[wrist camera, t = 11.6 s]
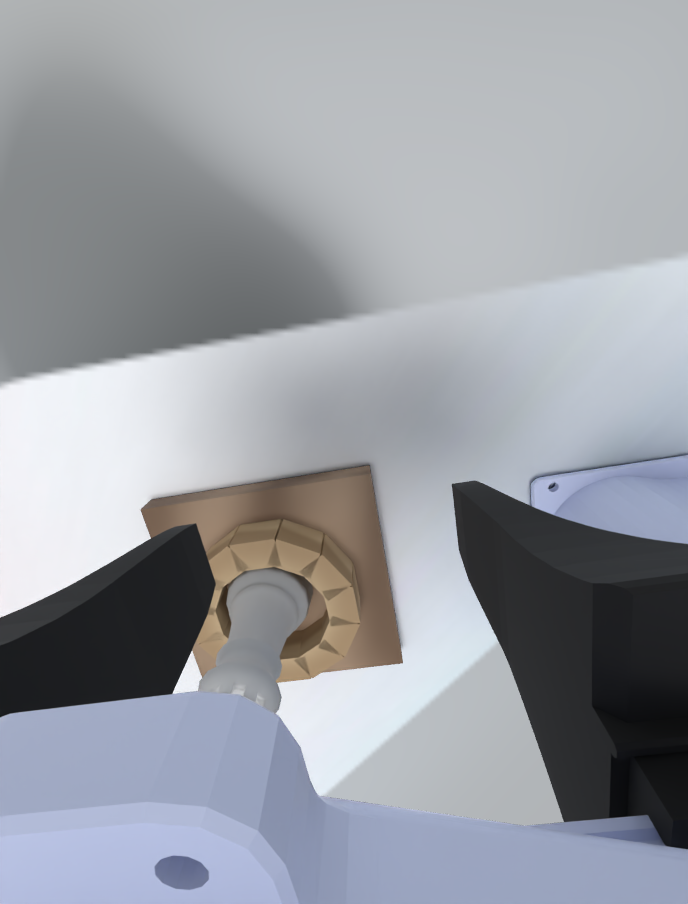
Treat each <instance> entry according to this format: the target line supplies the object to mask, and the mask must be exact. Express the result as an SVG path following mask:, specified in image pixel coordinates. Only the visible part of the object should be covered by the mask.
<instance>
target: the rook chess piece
mask: <svg viewBox="0 0 688 904" xmlns="http://www.w3.org/2000/svg"><path fill="white" fill-rule="evenodd" d="M312 594H313V589H312V584H311V583H310V582H309V581H308V580H307V579H306V578H305V577H304V576H301V575H298V574H295V573H292V572H288V571H285V570H282V569H279V568H276V567H270V568H263V569H256V570H248V571H244V572H242V573H241V574H240V575H238V576H237V577H236V578H235V579H233V580H232V581H231V583H230V585H229V587H228V593H227V603H226V604H227V607H228V611H229V616H230V619H231V622H232V624H231V629H230V634H229V638H228V641H227V643H226V644H225V645H223V647H222V648H221V649H220V651H219V652H218V653H217V658H216V666H217V667H215V668H213V669H211V670H209V671H207V673H206V674H205V675H204V676H203V678H202V679H201V680H200V682H199V689H198V691H204V692H216V693H228V694H240V695H241V696H243V697H245V698H247V699H249V700H251V701H253V702H255V703H257V704H259V705H261V706H262V707H264V708H266V709H268V710H270V711H272V712H274V713H276V712H277V711H278V710H279V706H280V702H281V694H280V690H279V687H278V684H277V683H276V680H277V679H278V678H279V677H280V674H281V669H282V664H281V660H280V657H279V656H280V654H281V651H282V649H283V646H284V644H285V641H286V639H287V637H289V636H290V635H291V634H292V632H293V631H295V630H296V629H297V628H298V627H299V626H300V624H301V623H302V622H303V621H304V619H305V618H306V616H307V613H308V609H309V605H310V603H311V599H312Z"/></svg>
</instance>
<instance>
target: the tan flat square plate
mask: <svg viewBox="0 0 688 904" xmlns="http://www.w3.org/2000/svg"><path fill="white" fill-rule="evenodd" d="M141 512H142V515H143V518H144V520H145V523H146V526H147V529H148V531H149V534H150V537H151V538H153V537H155V536H156V535H158V534H160V533H162V532H164V531H166V530H168V529H170V528H173V527H175V526H182V525H188V524H195V523H196V524H197V527H198V530H199V533H200V537H201V540H202V543H203V546H204V549H205V552H206V555H207V558H208V561H209V564H210V567H211V570H212V573H213V576H214V579H215V582H216V586H215V590H214V594H213V598H212V601H211V605H210V608H209V611H208V615H207V617H206V620H205V622H204V624H203V626H202V629H201V631H200V633H199V636H198V638H197V640H196V642H195V644H194V647H193V649H192V651H193V654H194V656H195V659H196V662H197V664H198V667H199V670H200V673H201V675H202V678H203V676H204V675H205V674H206V673H207V671H209V670H211V669H213V668H215V667H217V666H216V658H217V653H218V652H219V651H220V649H221V648H222V647H223V645H225V644H226V643H227V641H228V638H229V634H230V629H231V624H232V622H231V619H230V616H229V611H228V607H227V604H226V603H227V593H228V587H229V585H230V583H231V581H232V580H233V579H235V578H236V577H237V576H238V575H240V574H241V573H242V572H244V571H248V570H256V569H263V568H270V567H276V568H279V569H282V570H285V571H288V572H292V573H295V574H298V575H301V576H304V577H305V578H306V579H307V580H308V581H309V582H310V583H311V584H312V589H313V594H312V599H311V603H310V605H309V609H308V613H307V616H306V618H305V619H304V621H303V622H302V623H301V624H300V626H299V627H298V628H297V629H296V630H295V631H293V632H292V634H291V635H290V636H289V637H287V639H286V641H285V644H284V646H283V649H282V651H281V654H280V656H279V657H280V660H281V664H282V669H281V674H280V677H279V678H278V679H277V680H276V683H278V682H287V681H296V680H304V679H311V677H312V678H314V677H315V676H317V675H318V674H320V673H322V672H331V671H340V670H348V669H357V668H365V667H374V666H383V665H391V664H400V663H403V660H402V652H401V645H400V639H399V634H398V628H397V622H396V616H395V610H394V605H393V599H392V593H391V587H390V581H389V575H388V570H387V564H386V558H385V552H384V546H383V541H382V535H381V529H380V523H379V517H378V512H377V506H376V500H375V494H374V488H373V483H372V477H371V471H370V465H368V466H362V467H355V468H349V469H343V470H336V471H330V472H324V473H317V474H311V475H305V476H298V477H292V478H286V479H279V480H273V481H267V482H260V483H254V484H247V485H241V486H235V487H228V488H222V489H216V490H209V491H203V492H197V493H190V494H184V495H178V496H171V497H165V498H159V499H152V500H150V501H149V502H148V503H147V504H146V505H145V506H144V507H143V508H142V509H141Z"/></svg>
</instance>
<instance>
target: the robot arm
mask: <svg viewBox="0 0 688 904" xmlns="http://www.w3.org/2000/svg"><path fill="white" fill-rule="evenodd" d="M551 483H555V486H554V487H553V488H551V489H548V486H549V485H550V484H551ZM452 489H453V499H454V508H455V517H456V527H457V536H458V545H459V551H460V555H461V558H462V561H463V564H464V567H465V570H466V573H467V576H468V579H469V581H470V583H471V586H472V588H473V590H474V592H475V594H476V596H477V598H478V600H479V602H480V604H481V606H482V608H483V610H484V612H485V614H486V617H487V619H488V621H489V623H490V625H491V627H492V629H493V631H494V633H495V635H496V637H497V639H498V641H499V643H500V645H501V647H502V649H503V651H504V653H505V656H506V658H507V660H508V663H509V665H510V668H511V670H512V673H513V676H514V679H515V681H516V684H517V687H518V690H519V692H520V695H521V698H522V700H523V703H524V706H525V709H526V712H527V714H528V717H529V720H530V723H531V725H532V729H533V732H534V734H535V737H536V740H537V743H538V746H539V749H540V751H541V754H542V757H543V760H544V763H545V766H546V769H547V772H548V775H549V778H550V781H551V784H552V787H553V790H554V793H555V796H556V799H557V802H558V805H559V808H560V811H561V814H562V817H563V820H564V822H561V823H550V824H538V825H527V826H523V825H516V824H509V823H503V822H496V821H489V820H482V819H475V818H468V817H461V816H455V815H448V814H441V813H434V812H427V811H420V810H412V809H406V808H400V807H392V806H385V805H379V804H372V803H365V802H358V801H352V800H345V799H338V798H331V797H324V796H319V795H318V794H317V793H316V792H315V790H314V788H313V785H312V783H311V781H310V778H309V775H308V771H307V768H306V765H305V761H304V758H303V755H302V751H301V748H300V746H299V745H298V743H297V742H296V740H295V739H294V737H293V736H292V734H291V733H290V731H289V730H288V729H287V727H286V726H285V724H284V723H283V721H282V720H281V718H280V717H279V716H278V715H277V714H275V713H274V712H272V711H270V710H268V709H266V708H264V707H262V706H261V705H259V704H257V703H255V702H253V701H251V700H249V699H247V698H245V697H243V696H241V695H240V694H228V693H216V692H204V691H194V692H186V693H178V694H172V693H173V691H174V688H175V686H176V684H177V682H178V680H179V677H180V675H181V673H182V671H183V669H184V666H185V664H186V662H187V660H188V658H189V655H190V653H191V651H192V649H193V647H194V644H195V642H196V640H197V638H198V636H199V633H200V631H201V629H202V626H203V624H204V622H205V620H206V617H207V615H208V611H209V608H210V605H211V601H212V598H213V594H214V590H215V586H216V582H215V579H214V576H213V573H212V570H211V567H210V564H209V561H208V558H207V555H206V552H205V549H204V546H203V543H202V540H201V537H200V533H199V530H198V527H197V524H196V523H195V524H188V525H182V526H175V527H173V528H170V529H168V530H166V531H164V532H162V533H160V534H158V535H156V536H155V537H153V538H151V539H149V540H148V541H146V542H144V543H143V544H141V545H139V546H138V547H136V548H134V549H133V550H131V551H129V552H128V553H126V554H124V555H123V556H121V557H119V558H118V559H116V560H114V561H113V562H111V563H109V564H107V565H106V566H104V567H102V568H100V569H98V570H97V571H95V572H93V573H91V574H90V575H88V576H86V577H84V578H83V579H81V580H79V581H77V582H76V583H74V584H72V585H70V586H68V587H66V588H64V589H62V590H60V591H58V592H56V593H54V594H52V595H50V596H48V597H46V598H44V599H42V600H40V601H38V602H36V603H34V604H31V605H29V606H27V607H25V608H23V609H20V610H18V611H15V612H13V613H11V614H8V615H6V616H3V617H1V618H0V904H688V455H685V456H679V457H672V458H665V459H659V460H652V461H645V462H638V463H632V464H625V465H618V466H612V467H605V468H598V469H592V470H585V471H578V472H572V473H565V474H558V475H552V476H545V477H539V478H536V479H535V480H534V481H533V482H532V484H531V506H530V505H527V504H525V503H523V502H521V501H518V500H516V499H514V498H512V497H510V496H508V495H505V494H503V493H501V492H499V491H497V490H495V489H493V488H491V487H489V486H487V485H485V484H483V483H480V482H478V481H469V482H463V483H456V484H452Z"/></svg>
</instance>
